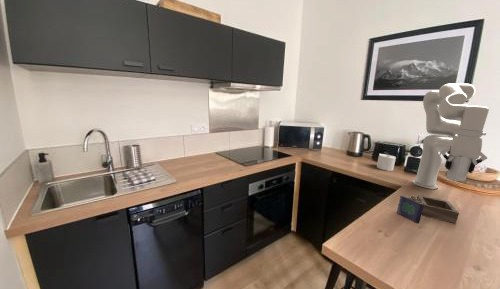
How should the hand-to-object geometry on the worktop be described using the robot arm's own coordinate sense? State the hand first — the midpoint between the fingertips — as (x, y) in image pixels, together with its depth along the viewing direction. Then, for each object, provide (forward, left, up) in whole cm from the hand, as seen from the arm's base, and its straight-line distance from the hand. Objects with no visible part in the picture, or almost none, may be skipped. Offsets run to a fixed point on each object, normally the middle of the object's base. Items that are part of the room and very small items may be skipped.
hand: (458, 170), depth 99 cm
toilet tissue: (-54, -23, -20) cm, 62 cm away
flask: (+22, -20, -20) cm, 36 cm away
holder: (+10, -8, -20) cm, 23 cm away
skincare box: (0, 0, -5) cm, 5 cm away
